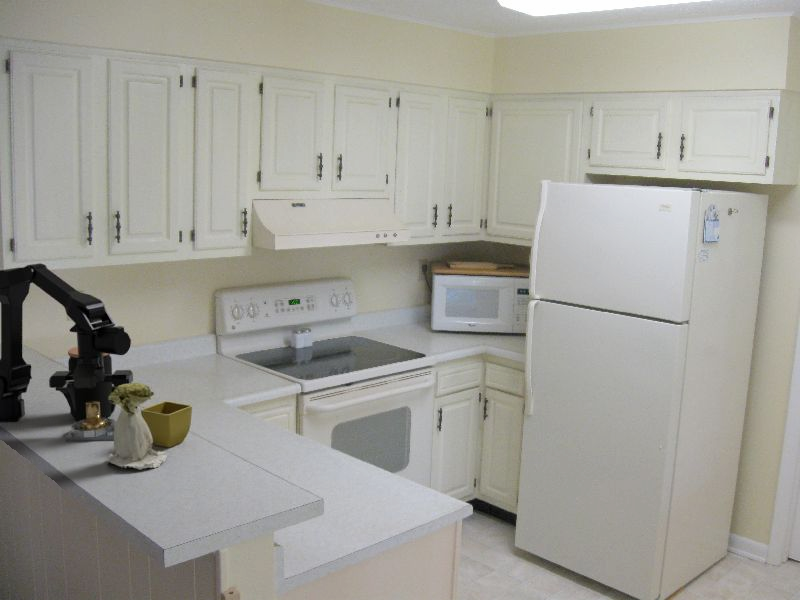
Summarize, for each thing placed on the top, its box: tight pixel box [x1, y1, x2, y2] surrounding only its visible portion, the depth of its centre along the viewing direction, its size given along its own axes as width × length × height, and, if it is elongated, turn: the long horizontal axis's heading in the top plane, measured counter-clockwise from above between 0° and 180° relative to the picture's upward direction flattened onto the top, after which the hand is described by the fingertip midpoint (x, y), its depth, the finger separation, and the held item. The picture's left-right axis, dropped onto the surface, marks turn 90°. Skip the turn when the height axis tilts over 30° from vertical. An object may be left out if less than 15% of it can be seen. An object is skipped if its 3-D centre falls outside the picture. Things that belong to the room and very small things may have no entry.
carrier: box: [65, 417, 117, 442], centre depth 212 cm, size 19×10×2 cm, turn 96°
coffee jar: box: [67, 346, 113, 422], centre depth 224 cm, size 11×11×18 cm
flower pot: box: [140, 400, 193, 448], centre depth 205 cm, size 9×9×9 cm
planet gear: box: [80, 401, 108, 430], centre depth 211 cm, size 6×6×7 cm
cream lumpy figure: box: [106, 382, 168, 471], centre depth 191 cm, size 12×13×18 cm
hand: (93, 412), depth 211 cm, fingers open, 9 cm apart
